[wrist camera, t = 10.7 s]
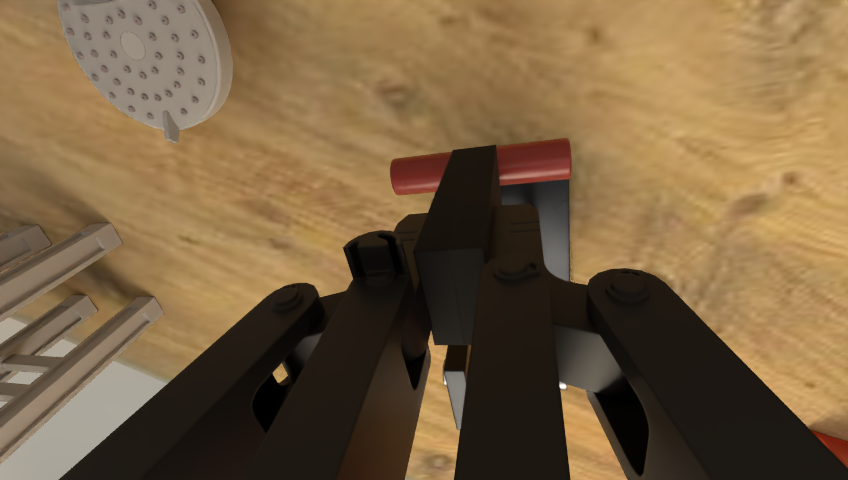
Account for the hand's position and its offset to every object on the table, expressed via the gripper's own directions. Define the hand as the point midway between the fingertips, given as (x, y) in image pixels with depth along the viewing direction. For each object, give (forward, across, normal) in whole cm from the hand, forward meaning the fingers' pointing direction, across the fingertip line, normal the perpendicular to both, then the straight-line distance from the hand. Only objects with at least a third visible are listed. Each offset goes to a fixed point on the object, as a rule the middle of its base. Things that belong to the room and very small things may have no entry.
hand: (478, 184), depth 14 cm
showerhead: (+14, -18, +7) cm, 24 cm away
